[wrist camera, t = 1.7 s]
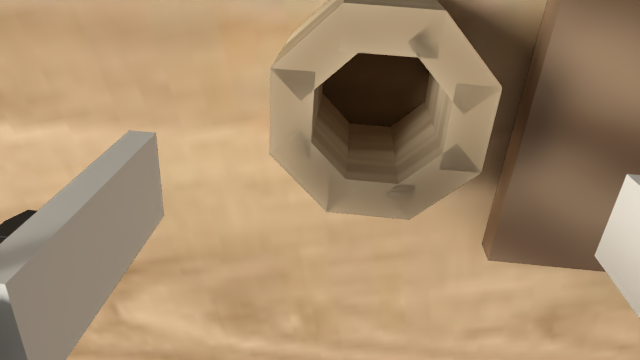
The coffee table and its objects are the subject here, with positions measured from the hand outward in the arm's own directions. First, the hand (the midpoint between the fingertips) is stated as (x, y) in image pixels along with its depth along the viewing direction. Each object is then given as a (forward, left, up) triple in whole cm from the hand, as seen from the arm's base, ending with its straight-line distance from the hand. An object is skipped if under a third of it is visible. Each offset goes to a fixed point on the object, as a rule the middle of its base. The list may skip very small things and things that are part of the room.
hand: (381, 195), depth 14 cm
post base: (+2, +15, -11) cm, 19 cm away
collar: (0, 0, -11) cm, 11 cm away
